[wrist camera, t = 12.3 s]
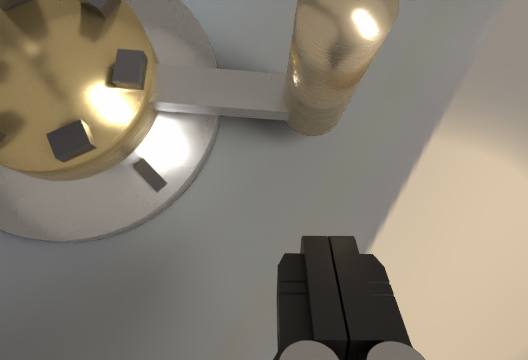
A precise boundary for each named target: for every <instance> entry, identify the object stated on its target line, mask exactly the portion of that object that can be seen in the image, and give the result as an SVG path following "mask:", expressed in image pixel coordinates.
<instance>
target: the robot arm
mask: <svg viewBox="0 0 528 360" xmlns="http://www.w3.org/2000/svg"><path fill="white" fill-rule="evenodd" d="M277 338H278V352H277V354H276V356H275V358H274V359H273V360H425V359H424V357H423V356H422V355H421V354H420V353H419V352H417V351H416V350H415V349H413V347H412V345H411V342H410V340H409V337H408V334H407V331H406V328H405V325H404V322H403V319H402V317H401V314H400V311H399V308H398V305H397V302H396V299H395V297H394V295H393V291H392V288H391V285H390V284H389V279H388V276H387V273H386V271H385V268H384V266H383V265H382V264H381V263H380V262H379V261H378V259H377V258H376V257H375V256H374V255H373V254H359V251H358V247H357V244H356V240H355V238H354V236H328V237H327V236H302V238H301V252H300V254H292V253H285V254H284V256H283V257H282V259H281V261H280V263H279V265H278V275H277Z"/></svg>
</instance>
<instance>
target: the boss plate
mask: <svg viewBox="0 0 528 360" xmlns="http://www.w3.org/2000/svg"><path fill="white" fill-rule="evenodd" d="M124 1H125V2H126V3H127V4H128V5H129V6H130V7H131V9H132V10H133V11H134V13H135V14H136V15H137V17H138V18H139V20H140V22H141V24H142V26H143V27H144V30H145V32H146V34H147V36H148V38H149V40H150V42H151V44H152V46H153V48H154V50H155V53H156V55H157V58H158V60H159V63H160V64H165V65H178V66H190V67H203V68H216V69H218V68H217V64H216V60H215V56H214V53H213V50H212V47H211V45H210V42H209V40H208V38H207V35H206V34H205V32H204V30H203V28H202V27H201V25H200V23H199V22H198V20H197V19H196V18H195V16H194V15H193V14H192V13H191V11H190V10H189V9H188V8H187V7H186V6H185V5H184V4H183V3H182V2H181V1H180V0H124ZM220 117H221V115H208V114H195V113H182V112H169V111H159V113H158V116H157V119H156V121H155V123H154V125H153V127H152V129H151V131H150V132H149V134H148V135H147V137H146V138H145V140H144V141H143V142H142V143H141V144H140V146H139V147H138V148H137V149H136V150H135V151H134V152H133V153H132V154H130V155H129V156H128V157H127V158H126V159H125V160H123V161H122V162H120V163H119V164H117V165H116V166H114V167H112V168H110V169H108V170H106V171H105V172H102V173H100V174H97V175H94V176H92V177H88V178H84V179H79V180H72V181H49V180H42V179H37V178H34V177H30V176H27V175H25V174H22V173H19V172H17V171H14V170H12V169H9V168H7V167H4V166H1V165H0V230H2V231H4V232H7V233H10V234H14V235H17V236H21V237H25V238H31V239H38V240H45V241H54V242H85V241H93V240H100V239H104V238H108V237H112V236H116V235H119V234H121V233H124V232H126V231H129V230H132V229H134V228H136V227H138V226H140V225H142V224H144V223H146V222H147V221H149V220H151V219H153V218H154V217H156V216H157V215H159V214H160V213H161V212H163V211H164V210H166V209H167V208H168V207H170V206H171V205H172V204H173V203H174V202H175V201H176V200H177V199H178V198H179V197H180V196H181V195H182V194H183V193H184V192H185V191H186V190H187V189H188V187H189V186H190V185H191V184H192V183H193V181H194V180H195V179H196V178H197V176H198V174H199V173H200V171H201V170H202V168H203V166H204V165H205V163H206V161H207V159H208V157H209V155H210V153H211V150H212V148H213V146H214V142H215V139H216V136H217V133H218V129H219V123H220Z"/></svg>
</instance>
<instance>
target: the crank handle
mask: <svg viewBox="0 0 528 360" xmlns="http://www.w3.org/2000/svg"><path fill="white" fill-rule="evenodd" d="M398 11H399V0H298V1H297V7H296V14H295V20H294V27H293V34H292V40H291V47H290V53H289V60H288V66H287V73H286V74H281V73H268V72H255V71H242V70H229V69H216V68H203V67H190V66H178V65H165V64H160V63H159V60H158V58H157V55H156V53H155V50H154V48H153V46H152V44H151V42H150V40H149V38H148V36H147V34H146V32H145V30H144V27H143V26H142V24H141V22H140V20H139V18H138V17H137V15H136V14H135V13H134V11H133V10H132V9H131V7H130V6H129V5H128V4H127V3H126V2H125V1H124V0H0V165H1V166H4V167H7V168H9V169H12V170H14V171H17V172H19V173H22V174H25V175H27V176H30V177H34V178H37V179H42V180H49V181H72V180H79V179H84V178H88V177H92V176H94V175H97V174H100V173H102V172H105V171H106V170H108V169H110V168H112V167H114V166H116V165H117V164H119V163H120V162H122V161H123V160H125V159H126V158H127V157H128V156H129V155H130V154H132V153H133V152H134V151H135V150H136V149H137V148H138V147H139V146H140V144H141V143H142V142H143V141H144V140H145V138H146V137H147V135H148V134H149V132H150V131H151V129H152V127H153V125H154V123H155V121H156V119H157V116H158V113H159V111H169V112H182V113H195V114H208V115H221V116H234V117H247V118H260V119H272V120H285V121H286V123H287V124H288V125H289V126H290V127H291V128H292V129H293V130H295V131H296V132H298V133H300V134H303V135H307V136H318V135H322V134H325V133H327V132H329V131H330V130H332V129H333V128H334V127H335V126H336V124H337V123H338V121H339V119H340V118H341V116H342V114H343V112H344V110H345V109H346V107H347V105H348V103H349V102H350V100H351V98H352V96H353V95H354V93H355V91H356V89H357V87H358V86H359V84H360V82H361V80H362V79H363V77H364V75H365V73H366V72H367V70H368V68H369V66H370V64H371V63H372V61H373V59H374V57H375V56H376V54H377V52H378V50H379V49H380V47H381V45H382V43H383V41H384V40H385V38H386V36H387V34H388V33H389V31H390V29H391V27H392V25H393V24H394V22H395V20H396V18H397V15H398Z"/></svg>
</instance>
